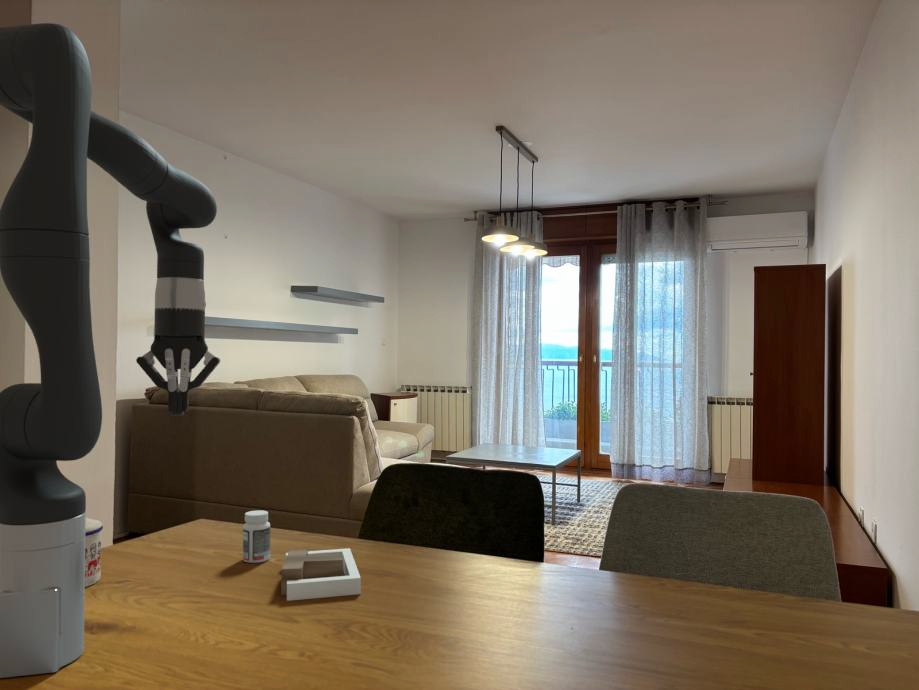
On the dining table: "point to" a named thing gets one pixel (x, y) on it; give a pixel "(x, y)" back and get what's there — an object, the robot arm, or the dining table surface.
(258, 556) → the pill bottle
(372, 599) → the dining table surface
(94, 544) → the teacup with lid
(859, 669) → the dining table surface
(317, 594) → the pocket
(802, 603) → the dining table surface
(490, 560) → the dining table surface
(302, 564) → the t block
